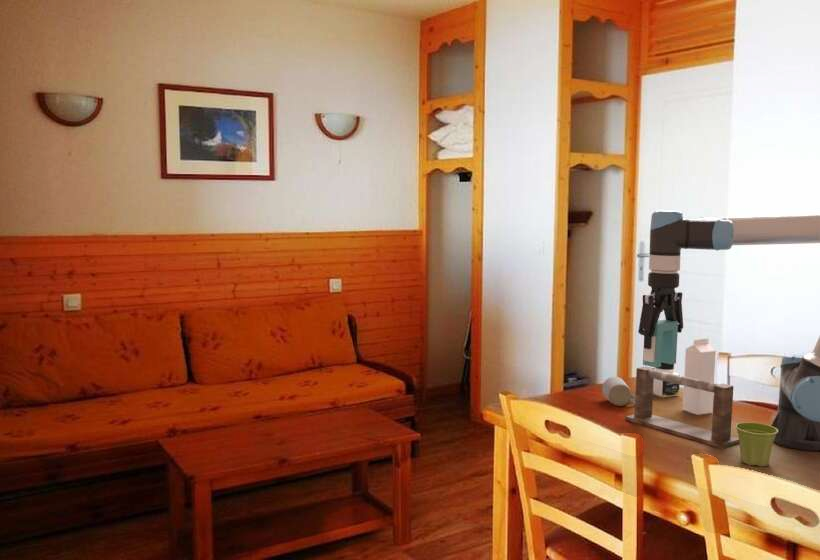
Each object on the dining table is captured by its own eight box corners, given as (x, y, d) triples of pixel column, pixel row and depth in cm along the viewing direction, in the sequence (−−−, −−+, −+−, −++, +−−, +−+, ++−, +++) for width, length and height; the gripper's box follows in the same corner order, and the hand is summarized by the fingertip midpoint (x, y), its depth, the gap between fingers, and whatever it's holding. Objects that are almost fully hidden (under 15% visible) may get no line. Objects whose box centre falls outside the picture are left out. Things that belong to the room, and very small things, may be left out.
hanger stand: (739, 442, 197) (743, 386, 195) (722, 448, 192) (726, 390, 190) (642, 415, 221) (645, 364, 219) (625, 419, 216) (627, 368, 214)
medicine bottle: (662, 397, 240) (664, 360, 239) (646, 392, 247) (648, 356, 245) (679, 395, 243) (681, 359, 242) (663, 390, 249) (665, 354, 248)
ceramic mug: (608, 407, 229) (610, 382, 228) (601, 399, 237) (602, 375, 236) (643, 407, 229) (644, 383, 228) (634, 400, 237) (635, 376, 236)
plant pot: (757, 471, 176) (759, 435, 175) (724, 458, 184) (726, 424, 184) (784, 466, 180) (787, 430, 179) (751, 453, 188) (754, 420, 187)
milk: (682, 410, 226) (685, 338, 224) (696, 407, 229) (700, 336, 227) (698, 415, 221) (701, 341, 219) (712, 412, 224) (716, 340, 221)
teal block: (662, 360, 198) (664, 319, 197) (675, 363, 195) (678, 321, 194) (642, 364, 193) (644, 322, 192) (656, 367, 190) (658, 324, 189)
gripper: (675, 268, 201) (671, 351, 203) (625, 272, 188) (621, 361, 190) (701, 270, 195) (696, 356, 197) (651, 275, 182) (647, 366, 184)
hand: (659, 358), depth 194 cm, fingers closed on teal block, 8 cm apart
